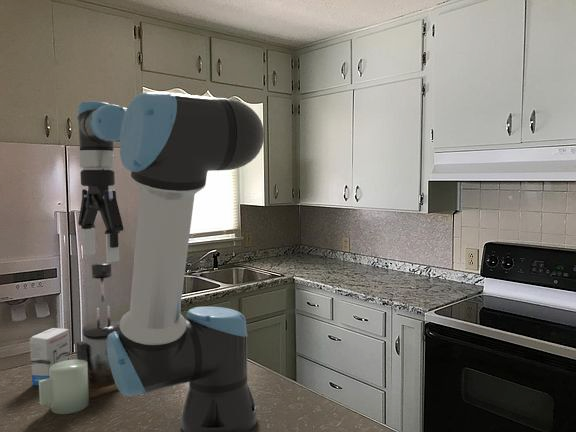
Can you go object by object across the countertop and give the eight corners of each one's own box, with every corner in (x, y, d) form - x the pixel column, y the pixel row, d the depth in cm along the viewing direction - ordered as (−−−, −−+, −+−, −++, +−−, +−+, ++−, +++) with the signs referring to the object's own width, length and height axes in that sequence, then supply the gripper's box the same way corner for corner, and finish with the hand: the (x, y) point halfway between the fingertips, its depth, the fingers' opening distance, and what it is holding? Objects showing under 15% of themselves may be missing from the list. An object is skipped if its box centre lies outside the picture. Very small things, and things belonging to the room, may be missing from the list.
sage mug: (94, 405, 107) (93, 365, 107) (47, 421, 101) (44, 379, 100) (81, 394, 113) (79, 356, 112) (35, 409, 106) (33, 368, 105)
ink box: (49, 387, 117) (46, 339, 116) (31, 385, 118) (28, 337, 117) (71, 373, 126) (69, 328, 125) (54, 371, 126) (52, 327, 126)
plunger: (115, 301, 118) (114, 264, 118) (97, 304, 115) (96, 266, 115) (108, 297, 122) (106, 262, 121) (90, 301, 119) (88, 264, 118)
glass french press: (143, 381, 120) (140, 307, 118) (90, 398, 111) (86, 318, 109) (120, 366, 129) (117, 297, 128) (69, 381, 120) (65, 307, 119)
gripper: (136, 168, 110) (139, 262, 111) (92, 169, 128) (95, 250, 129) (103, 168, 104) (107, 266, 106) (62, 169, 122) (66, 253, 124)
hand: (100, 258), depth 118 cm, fingers open, 13 cm apart
